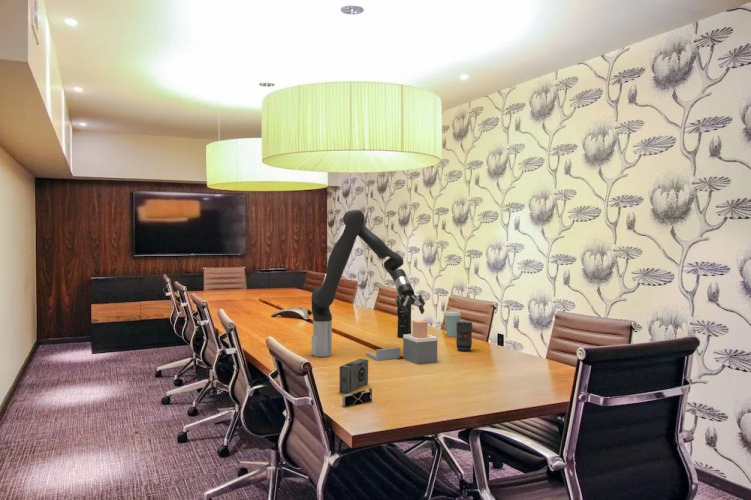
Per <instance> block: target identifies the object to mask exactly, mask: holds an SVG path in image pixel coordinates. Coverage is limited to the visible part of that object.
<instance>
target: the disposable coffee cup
mask: <svg viewBox="0 0 751 500" xmlns="http://www.w3.org/2000/svg"><path fill="white" fill-rule="evenodd" d="M461 318H462V312H461V310H458V309H449V310H445V311H444V312H443V319H444V325H445V331H446V335H447V337H449V336H450V337H449V338H455V337H456V338H457V332H456V323H457V321H461Z"/></svg>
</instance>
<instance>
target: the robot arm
mask: <svg viewBox="0 0 751 500" xmlns="http://www.w3.org/2000/svg"><path fill="white" fill-rule="evenodd" d="M342 221H343V224H344V225H345V226H344V229H343V232H342V234H341V235H340V237H339V239H337V241H336V243H335V245H334V246H333V248H332V250H331V252H330V255H329V256H328V260H327V265H326V273H325V274H326V275H325V278H324V281H323V283H322V285H321V287H317V288H315V289H314V290H313V292H312V293H311V315H312V335H311V355H312V356H313V357H315V358H318V357H319V358H320V357H321V358H322V357H323V358H325V357H330V356H332V355H333V315H332V313H331V310H330V309H331V308H330V306H331V305H332V304H333V302H334V300H335V297H336V293H337V290H338V286H339V283H340V280H341V279H342V277H343V273H344V271H345V268H346V266H347V263H348V262H349V259H350V257H351V253H352V250H353V248H354V245H355V241H356V239H357V237H359V238H360V239H361V240H362V241H363V242H364V243H365V244H366V245H367V246H368V247H369V248H370V249H371V251H372V252H373V253H374V254H375V255H376V256H377V257H378V258H379V259H380V260H381V259H385V258H387V259H386V260H385V261H383V268H384V269H385V270H386V272H387V273H388V274H389V275H390V277H391V278H392V281H393V283H394V285H395V289H396V291H397V294H398V295H396V297H395V299H394V300H395V303H396V305H397V308H402V309H403V311H404V313H405V314H406V315H408V313H409V311H408V309H407V307H406V304H407V305H411V306H412V305H413V306H415V307H417V308H418V311H419V312H420V314H421V315H424V313H425V308H424V306H425V305H426V301H425V300H424V298H423V296H422V295H421V294H419V295H416V294H415V291H414V289H413V288H414V287H412V283H411V282H410V280H409V278H408V276H407V274H406V272H405V270H404V269H403V268H401V267H402V266H403V265H404V262H405V261H404V258H403V257H402V256H401V255H400V254H398V253H397V252H395V251H393V250H392V249H390V247H389V246H387V245H386V243H385V242H384V241H383V240H382V239H381V238H380V237H379V236H377V235H376V234H375V233H373V231H371V230H370V229H369V228H368V227H367V226H366V225H365V224H364V223H365V214H364V213H363V211H362V210H359V209H351V210H347V211H346V212H345V213H344V214H343V216H342ZM401 300H402V301H403V302H404V303H403V304H402V303H401Z"/></svg>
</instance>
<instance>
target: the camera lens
mask: <svg viewBox="0 0 751 500" xmlns="http://www.w3.org/2000/svg"><path fill="white" fill-rule="evenodd" d="M456 332H457V337H456V341H455V344H456V348H457V351H458V352H462V353H463V352H464V353H465V352H466V353H467V352H471V350H472V349H471V348H472V344H473V343H472V341H473V340H472V339H473V338H472V336H473V335H472V334H473V322H472V321H469V320H460V321H457V323H456Z"/></svg>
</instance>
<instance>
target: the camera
mask: <svg viewBox="0 0 751 500" xmlns="http://www.w3.org/2000/svg"><path fill="white" fill-rule="evenodd" d="M367 383H368V384H369V359H364V358H359V359H356V360H353V361H350V362H347V363H345V364H343V365H339V393H344V394H349V393H351V392H353V390H354V391H355V389H356V390H357V388H358V389H360V388H362V387H364V386H366V385H368V384H367ZM365 384H366V385H365ZM363 385H364V386H363ZM361 386H362V387H361ZM359 387H360V388H359Z"/></svg>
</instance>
